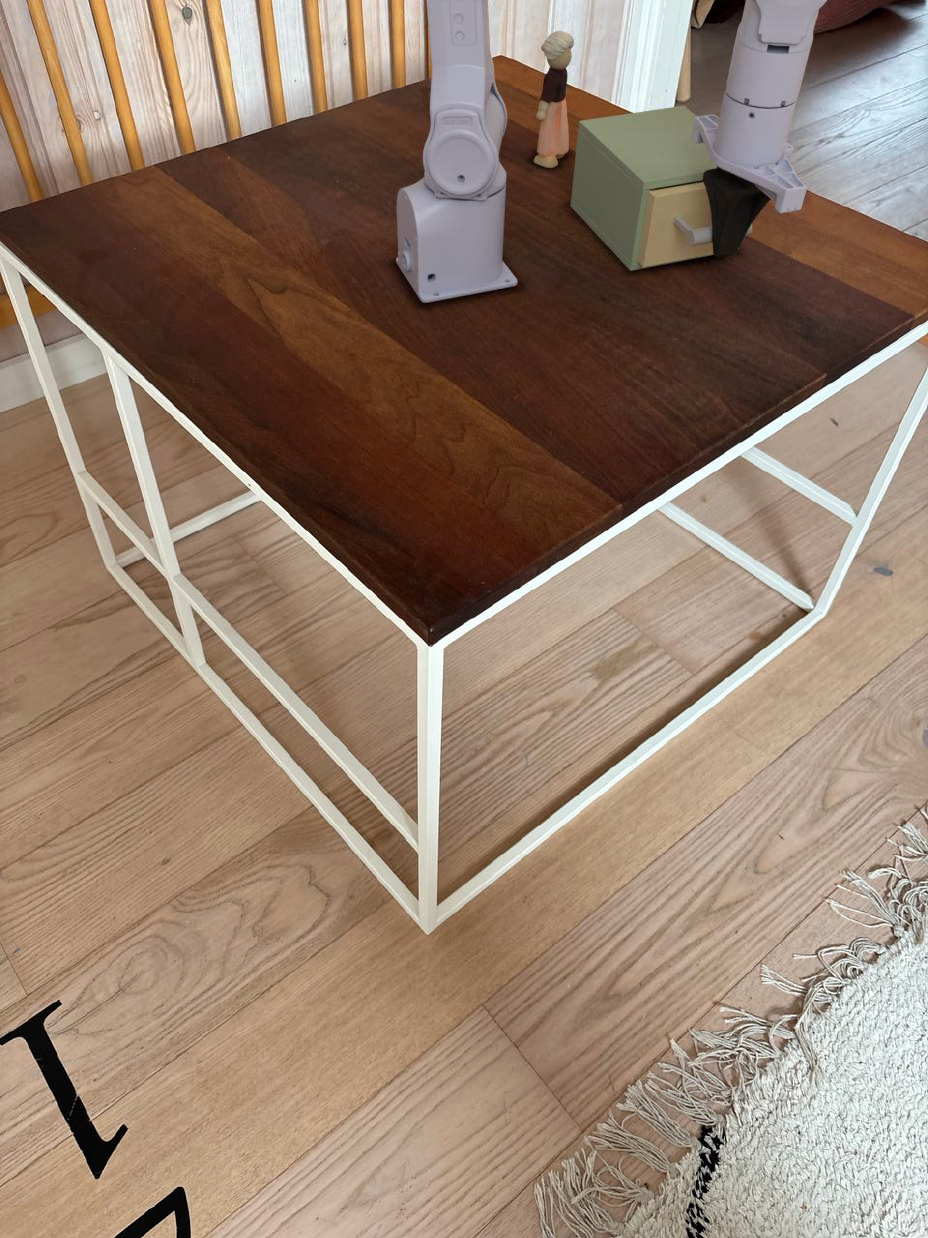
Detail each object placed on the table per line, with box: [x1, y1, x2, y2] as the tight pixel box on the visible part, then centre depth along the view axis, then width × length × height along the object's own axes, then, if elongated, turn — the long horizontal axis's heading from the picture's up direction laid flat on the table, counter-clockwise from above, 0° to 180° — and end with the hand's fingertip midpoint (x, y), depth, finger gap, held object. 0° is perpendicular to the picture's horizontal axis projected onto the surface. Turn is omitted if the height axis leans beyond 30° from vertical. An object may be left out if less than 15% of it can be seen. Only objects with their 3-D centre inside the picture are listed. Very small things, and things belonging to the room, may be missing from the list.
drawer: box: [638, 180, 753, 268], centre depth 95 cm, size 17×10×7 cm, turn 21°
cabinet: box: [570, 105, 717, 272], centre depth 97 cm, size 14×12×9 cm
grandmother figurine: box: [533, 30, 575, 169], centre depth 106 cm, size 8×4×13 cm, turn 168°
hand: (724, 253), depth 89 cm, fingers closed, pressing on drawer
